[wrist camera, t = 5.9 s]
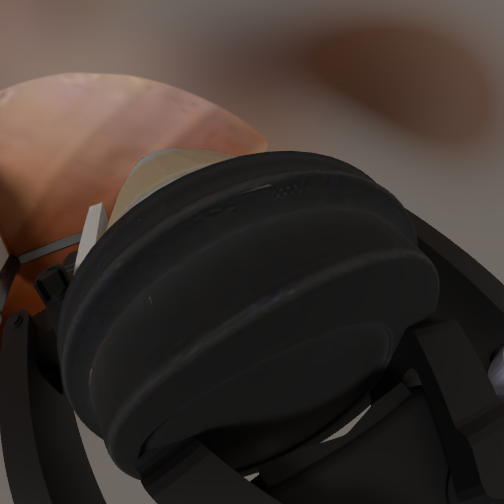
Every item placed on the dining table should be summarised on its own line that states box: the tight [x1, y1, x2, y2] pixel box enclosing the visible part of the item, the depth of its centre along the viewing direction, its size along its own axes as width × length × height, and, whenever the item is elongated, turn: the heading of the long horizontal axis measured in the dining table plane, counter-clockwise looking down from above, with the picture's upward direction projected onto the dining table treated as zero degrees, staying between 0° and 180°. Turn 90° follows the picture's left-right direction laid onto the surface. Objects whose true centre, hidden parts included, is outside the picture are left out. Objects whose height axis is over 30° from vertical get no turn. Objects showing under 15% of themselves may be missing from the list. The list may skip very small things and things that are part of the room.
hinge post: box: [0, 255, 20, 325], centre depth 21 cm, size 3×3×11 cm
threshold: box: [18, 232, 83, 264], centre depth 28 cm, size 14×1×1 cm, turn 96°
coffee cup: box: [57, 148, 439, 480], centre depth 11 cm, size 9×9×15 cm
